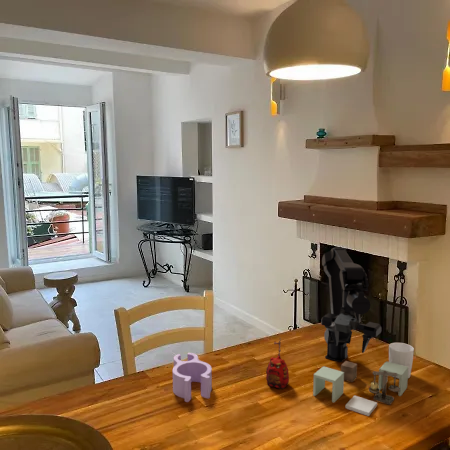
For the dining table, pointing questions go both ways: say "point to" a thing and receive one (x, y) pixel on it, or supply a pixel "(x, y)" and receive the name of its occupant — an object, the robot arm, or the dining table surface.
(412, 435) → the dining table surface
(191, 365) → the clip
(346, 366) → the walnut block
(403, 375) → the green cover right
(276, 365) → the red clay folk toy
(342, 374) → the green cover left
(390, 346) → the white cup
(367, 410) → the grey ceramic tile
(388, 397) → the bronze balance
